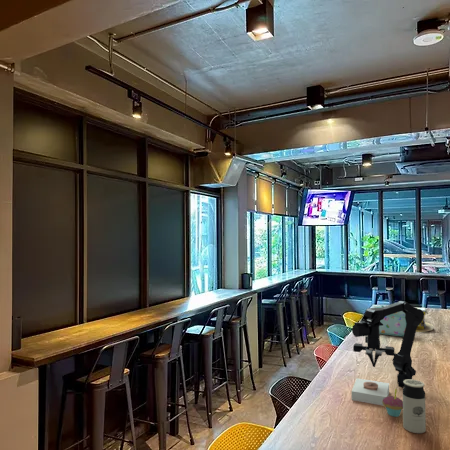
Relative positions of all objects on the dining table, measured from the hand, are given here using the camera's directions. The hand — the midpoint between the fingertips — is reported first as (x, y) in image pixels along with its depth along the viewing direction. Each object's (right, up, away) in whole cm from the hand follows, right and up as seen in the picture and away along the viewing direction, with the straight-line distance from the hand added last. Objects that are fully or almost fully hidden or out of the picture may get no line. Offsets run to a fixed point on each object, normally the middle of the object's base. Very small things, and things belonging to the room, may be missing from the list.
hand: (374, 366), depth 192 cm
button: (-4, -10, -7) cm, 13 cm away
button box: (-4, -11, -7) cm, 14 cm away
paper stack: (+82, -14, +125) cm, 150 cm away
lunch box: (+52, -14, +106) cm, 119 cm away
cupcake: (-2, -11, -26) cm, 29 cm away
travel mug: (+1, -10, -39) cm, 40 cm away
